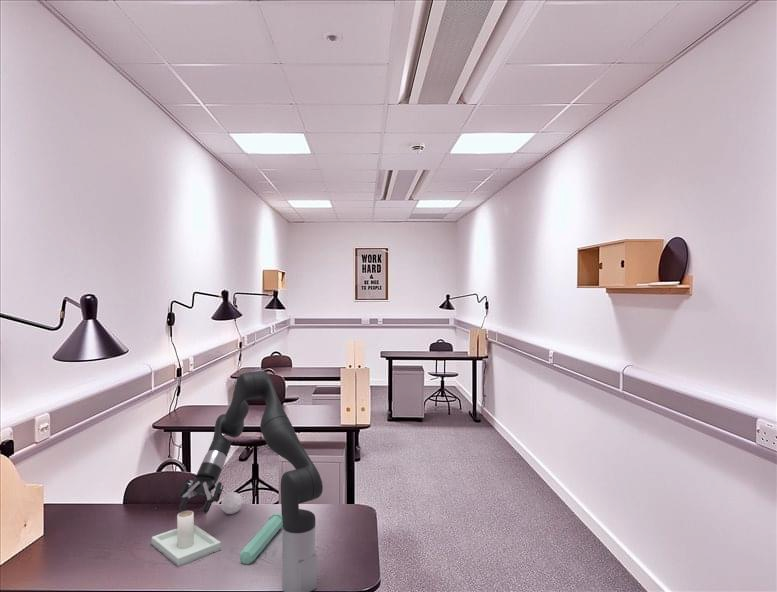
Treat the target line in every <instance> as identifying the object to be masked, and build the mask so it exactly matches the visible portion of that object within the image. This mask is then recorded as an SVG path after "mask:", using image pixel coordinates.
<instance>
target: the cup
mask: <svg viewBox="0 0 777 592" xmlns="http://www.w3.org/2000/svg"><path fill="white" fill-rule="evenodd" d="M194 516H195V515H194V511H192V510H184V511H181V512H179V513H178V514H177V515H176V518H177V519H176V525H177V526H176V527H177V528H176V529H177V546H178V548H188V547H190V546H192V545H193V544H194V525H195V524H194V521H195V520H194V519H195V518H194Z"/></svg>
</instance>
